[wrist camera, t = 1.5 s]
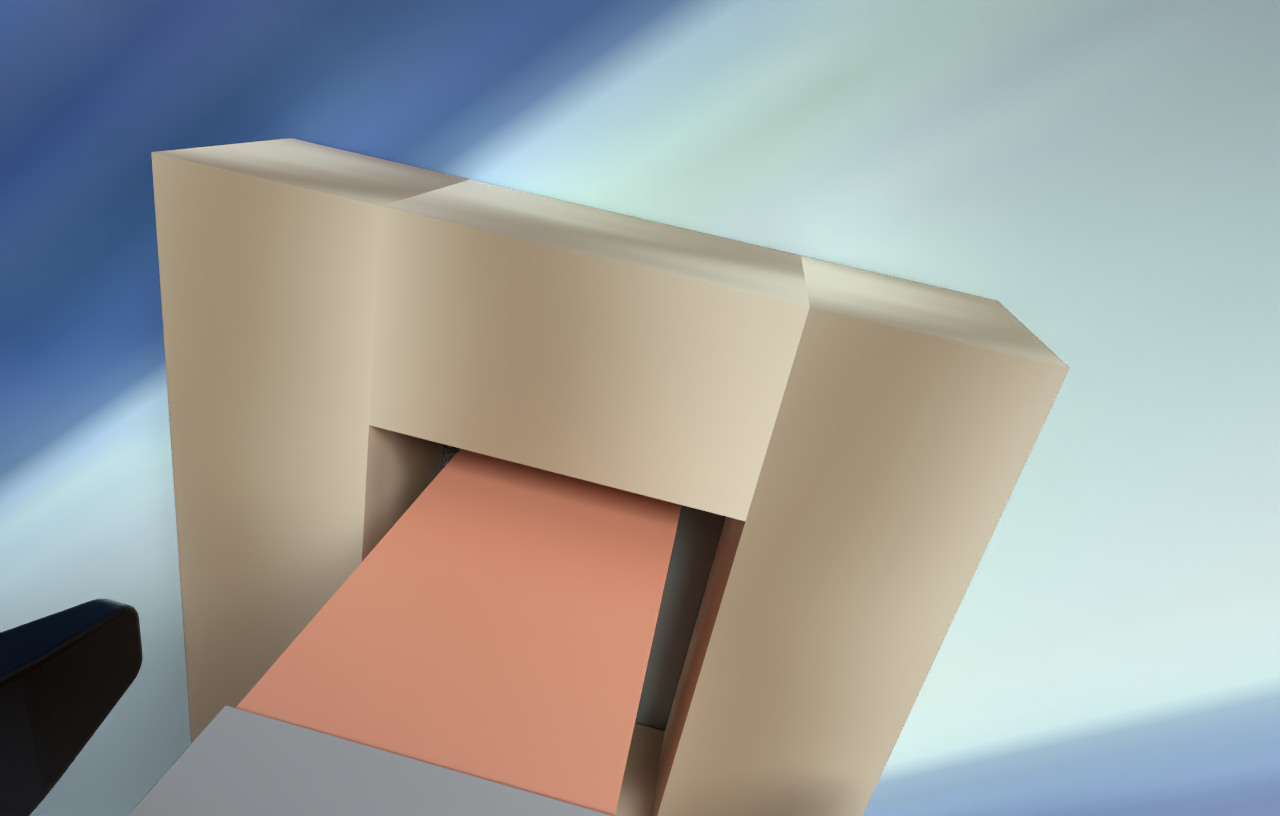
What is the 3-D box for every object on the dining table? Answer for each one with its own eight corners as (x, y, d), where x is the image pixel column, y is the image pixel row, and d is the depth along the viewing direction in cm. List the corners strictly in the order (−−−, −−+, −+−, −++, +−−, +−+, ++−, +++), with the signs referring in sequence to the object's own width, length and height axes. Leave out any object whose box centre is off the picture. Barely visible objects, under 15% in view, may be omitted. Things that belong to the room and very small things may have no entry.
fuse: (695, 456, 11) (592, 962, 5) (635, 691, 13) (502, 1282, 6) (491, 405, 11) (121, 821, 5) (461, 644, 13) (167, 1169, 7)
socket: (997, 301, 9) (1069, 367, 7) (769, 865, 14) (768, 1018, 12) (291, 138, 10) (152, 152, 8) (288, 728, 15) (198, 846, 12)
